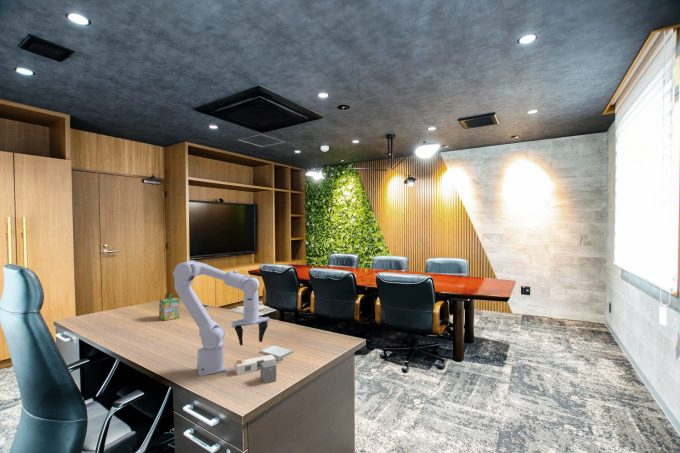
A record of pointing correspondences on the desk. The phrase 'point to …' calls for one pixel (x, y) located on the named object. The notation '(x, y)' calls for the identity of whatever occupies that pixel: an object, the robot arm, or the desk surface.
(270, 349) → the hard drive
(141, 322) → the desk surface
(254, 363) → the power strip
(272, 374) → the block
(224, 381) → the desk surface
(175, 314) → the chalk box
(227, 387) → the desk surface
